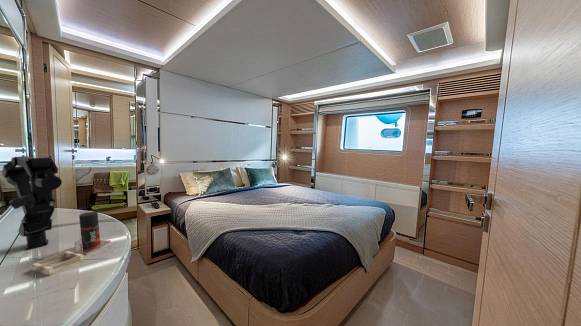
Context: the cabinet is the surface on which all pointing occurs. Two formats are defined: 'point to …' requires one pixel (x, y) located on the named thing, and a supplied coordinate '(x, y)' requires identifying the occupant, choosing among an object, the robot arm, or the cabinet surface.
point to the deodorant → (89, 230)
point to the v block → (80, 250)
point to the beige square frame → (45, 269)
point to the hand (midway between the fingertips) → (46, 222)
